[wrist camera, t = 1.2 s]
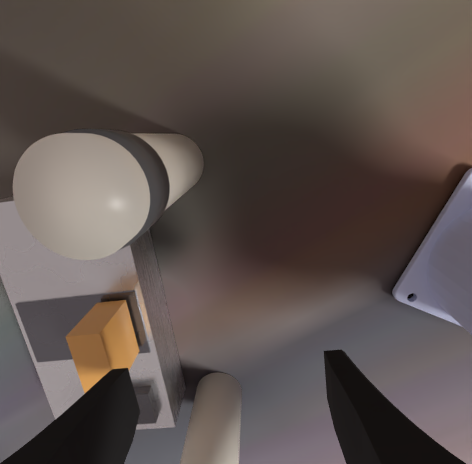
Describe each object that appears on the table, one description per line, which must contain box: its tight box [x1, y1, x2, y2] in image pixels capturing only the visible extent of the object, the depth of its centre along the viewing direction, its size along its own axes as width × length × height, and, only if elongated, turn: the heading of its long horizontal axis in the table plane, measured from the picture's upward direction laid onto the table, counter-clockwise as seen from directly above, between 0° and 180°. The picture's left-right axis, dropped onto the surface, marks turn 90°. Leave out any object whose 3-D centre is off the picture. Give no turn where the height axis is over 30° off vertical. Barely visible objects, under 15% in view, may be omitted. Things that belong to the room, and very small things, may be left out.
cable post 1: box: [13, 129, 204, 260], centre depth 12 cm, size 3×3×10 cm
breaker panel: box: [0, 196, 186, 430], centre depth 18 cm, size 7×14×4 cm, turn 8°
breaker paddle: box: [66, 300, 139, 393], centre depth 15 cm, size 2×3×3 cm, turn 8°
